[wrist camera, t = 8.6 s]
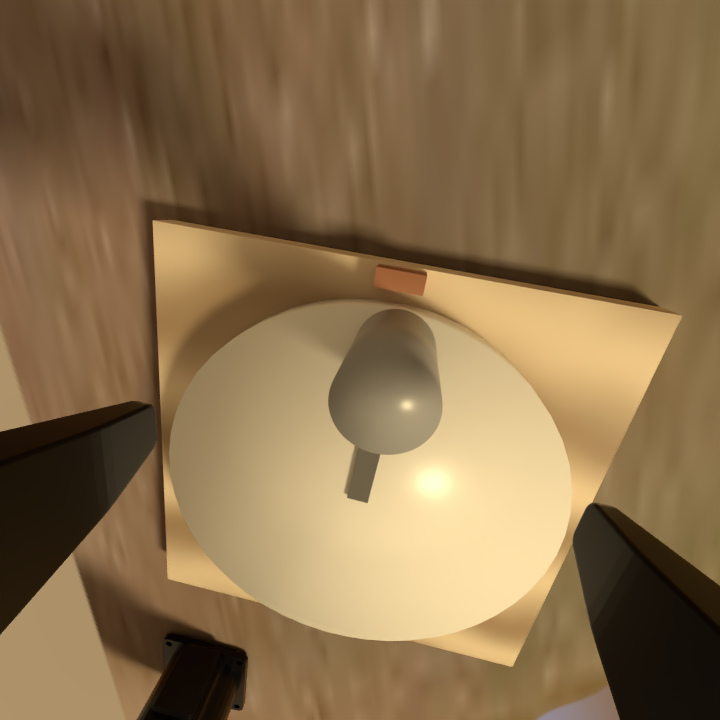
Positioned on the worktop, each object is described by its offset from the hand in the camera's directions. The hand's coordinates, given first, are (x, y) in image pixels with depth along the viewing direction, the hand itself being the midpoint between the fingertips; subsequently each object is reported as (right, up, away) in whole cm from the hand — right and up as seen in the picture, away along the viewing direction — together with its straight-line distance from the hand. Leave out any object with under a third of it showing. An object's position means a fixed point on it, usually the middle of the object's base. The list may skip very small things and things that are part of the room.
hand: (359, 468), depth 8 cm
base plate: (0, -3, +13) cm, 14 cm away
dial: (0, -4, +12) cm, 13 cm away
